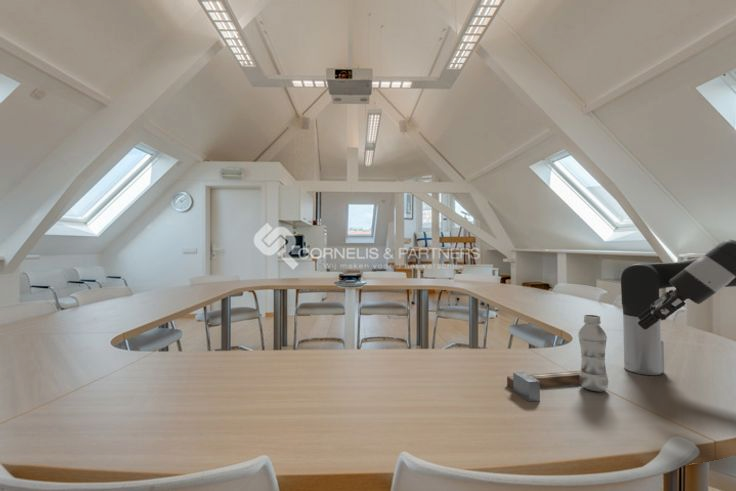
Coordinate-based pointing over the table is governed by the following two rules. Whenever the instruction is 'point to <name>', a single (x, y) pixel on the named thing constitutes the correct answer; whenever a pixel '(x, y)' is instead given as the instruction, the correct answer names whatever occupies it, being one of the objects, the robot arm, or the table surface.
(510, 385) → the walnut rail
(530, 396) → the metal end stop
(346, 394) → the table surface
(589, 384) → the plastic bottle
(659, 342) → the robot arm
